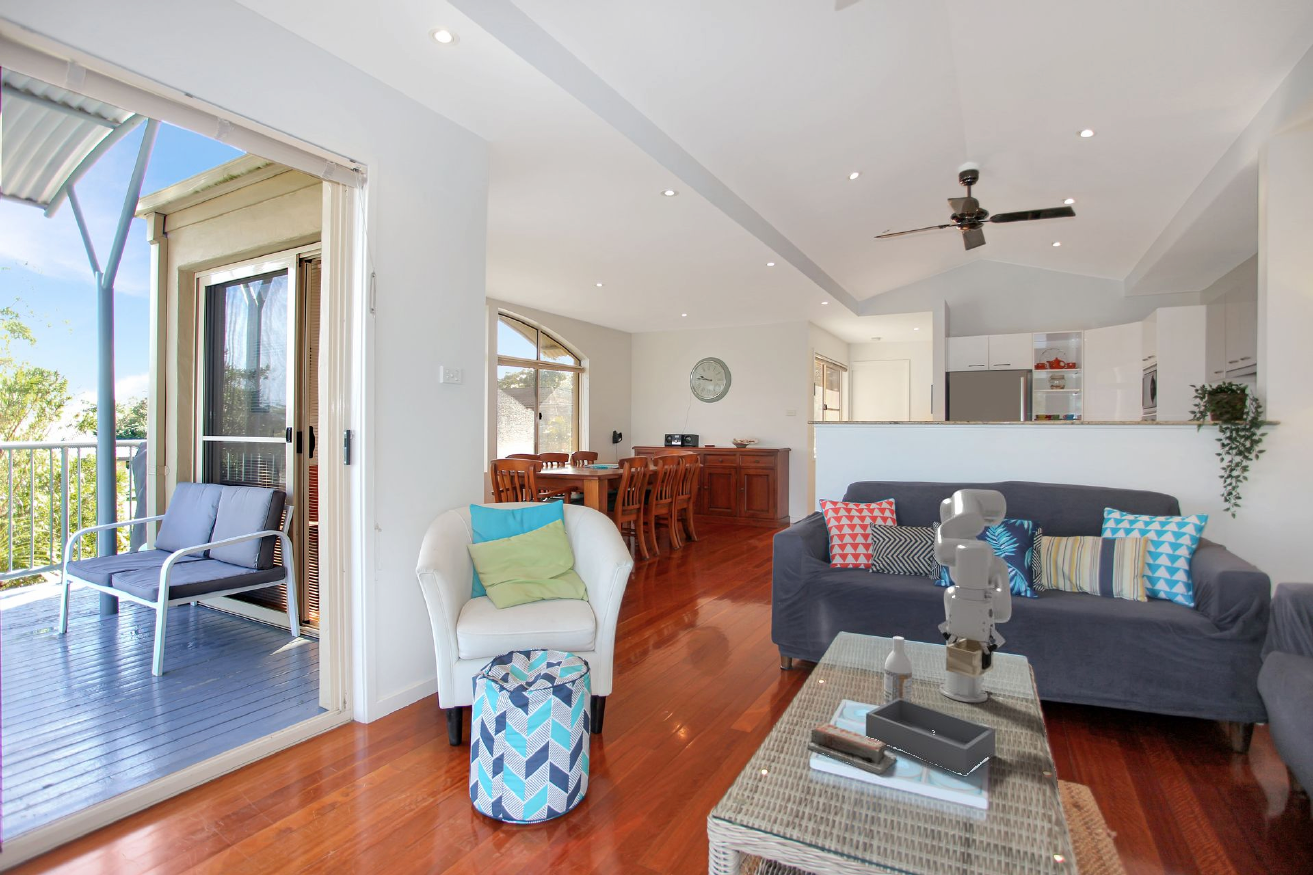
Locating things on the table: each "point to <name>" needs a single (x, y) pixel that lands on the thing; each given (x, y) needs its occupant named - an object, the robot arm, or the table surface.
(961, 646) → the pine crate
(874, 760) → the packaged product
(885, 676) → the bath foam
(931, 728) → the charcoal crate
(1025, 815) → the table surface
